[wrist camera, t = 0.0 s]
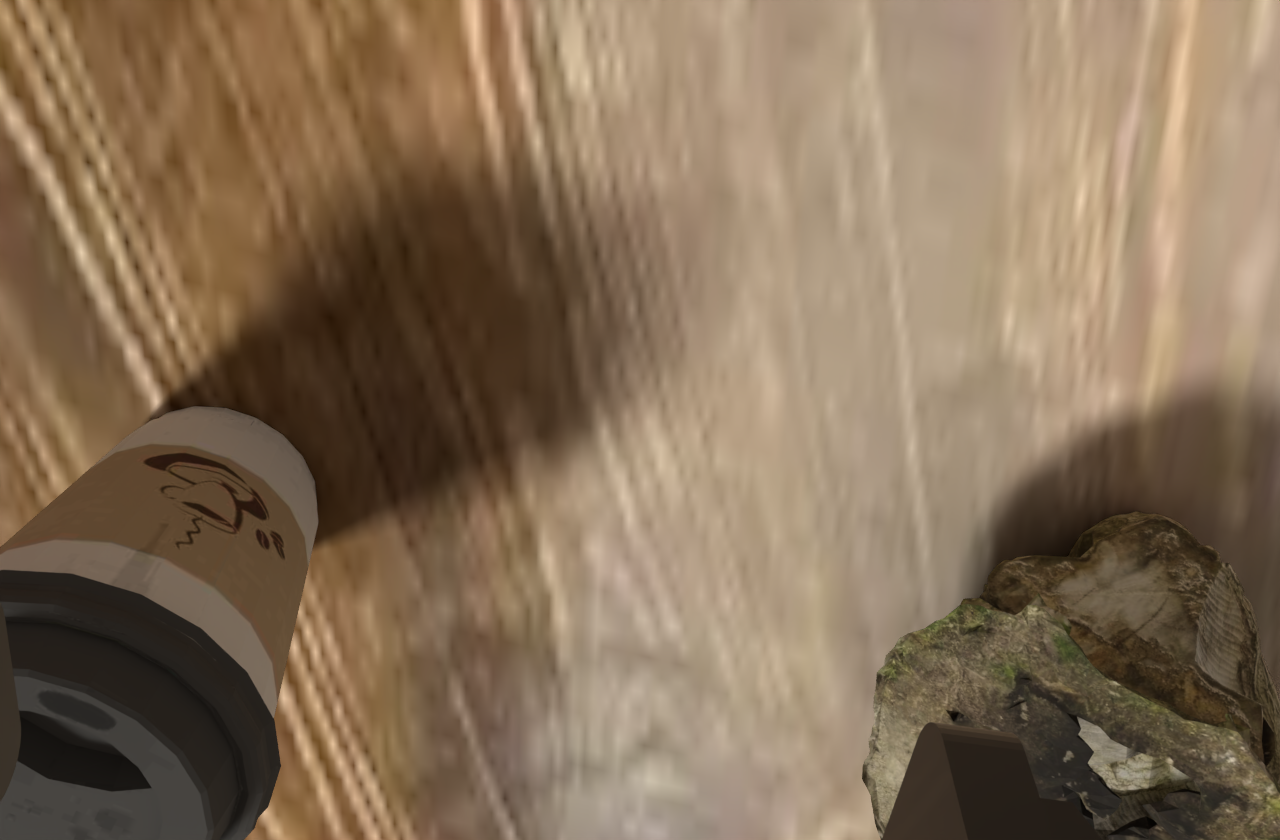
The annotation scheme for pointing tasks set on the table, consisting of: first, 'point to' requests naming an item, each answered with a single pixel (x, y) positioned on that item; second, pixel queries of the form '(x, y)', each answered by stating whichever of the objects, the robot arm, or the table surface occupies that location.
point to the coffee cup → (157, 633)
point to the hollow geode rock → (1103, 686)
